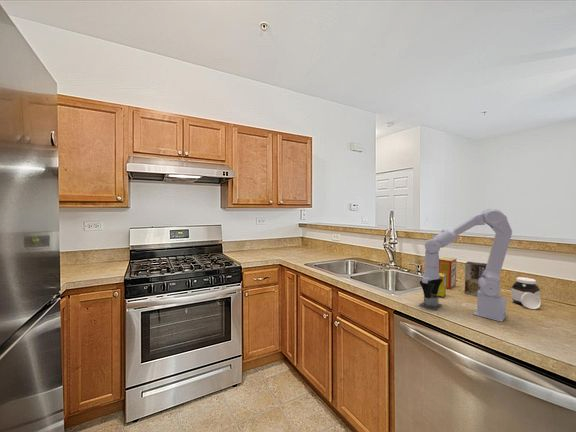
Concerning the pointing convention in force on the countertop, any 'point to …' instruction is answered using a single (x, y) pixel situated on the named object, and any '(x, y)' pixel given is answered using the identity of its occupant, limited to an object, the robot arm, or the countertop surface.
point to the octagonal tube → (431, 301)
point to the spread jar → (526, 293)
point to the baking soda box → (448, 271)
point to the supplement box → (442, 286)
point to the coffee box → (473, 277)
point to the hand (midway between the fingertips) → (430, 296)
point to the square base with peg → (430, 307)
